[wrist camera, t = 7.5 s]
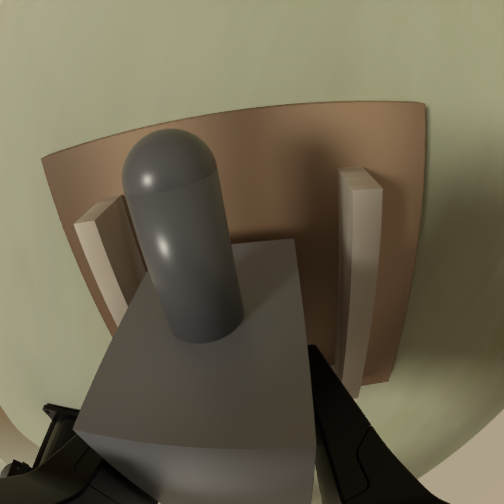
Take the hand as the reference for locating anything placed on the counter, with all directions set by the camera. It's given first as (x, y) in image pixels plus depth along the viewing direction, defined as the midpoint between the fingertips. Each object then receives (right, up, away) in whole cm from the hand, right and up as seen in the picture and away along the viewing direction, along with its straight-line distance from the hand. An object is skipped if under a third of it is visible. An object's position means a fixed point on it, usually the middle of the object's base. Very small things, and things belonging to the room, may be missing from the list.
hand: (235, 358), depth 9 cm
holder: (0, +2, +3) cm, 4 cm away
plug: (0, +2, 0) cm, 2 cm away
